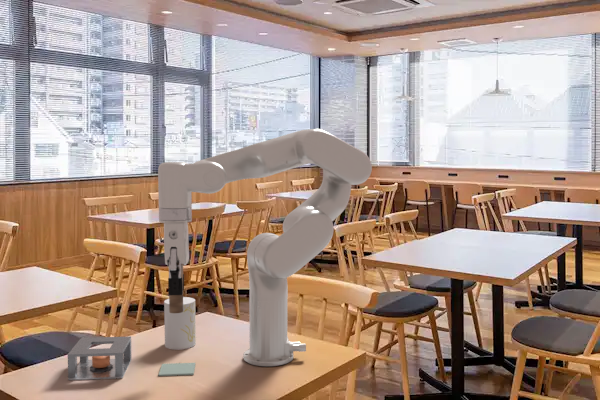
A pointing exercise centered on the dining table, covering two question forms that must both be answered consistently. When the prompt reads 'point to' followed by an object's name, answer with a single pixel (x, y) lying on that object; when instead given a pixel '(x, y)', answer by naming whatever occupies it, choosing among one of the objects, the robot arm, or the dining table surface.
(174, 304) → the brown wooden rod
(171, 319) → the cup
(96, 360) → the breaker plunger
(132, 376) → the dining table surface
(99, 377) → the guard cage
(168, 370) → the mat
